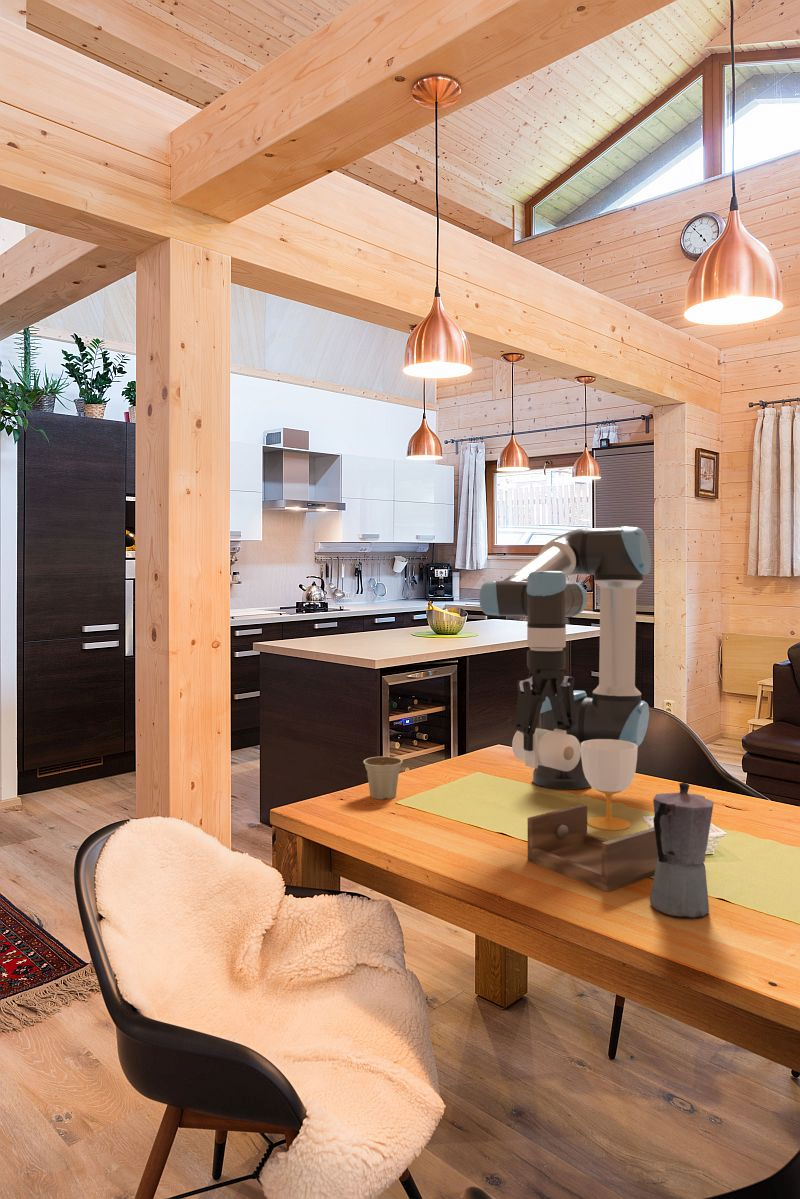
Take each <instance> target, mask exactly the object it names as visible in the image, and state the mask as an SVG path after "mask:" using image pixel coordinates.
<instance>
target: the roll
mask: <svg viewBox="0 0 800 1199" xmlns="http://www.w3.org/2000/svg"><path fill="white" fill-rule="evenodd" d="M529 728H530V726H529ZM534 734H537V735H538V765H541V766H545V767H550V768H554V769H558V770H562V771H571V770H572V769H574V768H575V767H576V765H577V764H578V762H579V759H580V756H581V747H580V743H579V741H578V739H577V738H576V737H575V736H573V735H568V734H564V733H559V732H555V731H550V730H545V729H540V727H536V730H535V733H534ZM512 738H513V739H512V743H511V747H512V752H513V754H514V756H515V758H516V759H518V760H519V761H524V762H525V750H524V748H523V745H524V744H523V743H524V736H523V733H521V732H520V731H516V732H515V734H514V736H513V737H512Z"/></svg>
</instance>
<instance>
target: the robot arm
mask: <svg viewBox="0 0 800 1199" xmlns="http://www.w3.org/2000/svg"><path fill="white" fill-rule="evenodd" d="M651 552H652V551H651V547H650V543H649V540H648V536H647V534H646V532H644V530H643V529H642V528H640V527H638V526H635V527H634V526H614V527H613V526H610V527H594V528H593V527H592V528H589V527H588V528H587V527H586V528H578V529H574V530H572V531H569V532H566V533H563V534H561V535H559V536H556V537H554V539H551V540H549V542H547V543H546V544H544V545H543V546H542V547H541V549H540V551H539V554H537V555H536V556H534V557H533V558H532V559H530V560H529V561H528V562H527V563H525V564H524V565H522V566H521V567H519V568H518V569H517V570H516V571H514V572H513V573H512V574H510V575H509V576H507V577H506V578H505V579H502V580H491V581H485V582H484V583H483V584H482V585H481V586H480V589H479V594H478V595H479V597H478V600H479V606H480V609H481V611H482V613H483V614H485V615H487V616H497V617H527V619H526V621H527V624H526V626H527V628H526V630H527V632H526V634H527V636H526V638H527V640H526V644H527V646H526V647H528V648H529V649H528V650H527V652H526V666H527V668H528V670H529V674H528V676H527V678H526V679H524V680H520V679H518V680H517V682H516V688H517V699H516V700H517V701H516V702H517V704H516V712H515V723H514V729H515V731H516V732H517V731H520V732H521V733H523V736H524V743H523V744H524V745H523V748H524V750H525V761H524V762H525V764H524V765H525V767H527V768H532V769H533V771H532V782H533V783H534V784H536V785H537V786H540V787H543V788H548V789H554V790H580V789H582V790H583V789H586V788H589V787H591V786H590V784H589V783H588V781H587V779H586V778H585V775H584V771H583V767H582V759H581V756H580V759H579V762H578V764H577V765H576V767H575V768H574V769H572V770H571V771H562V770H558V769H554V768H550V767H545V766H541V765H538V735H537V734H534V733H535V730H536V728H537V725H538V722H539V729H545V730H550V731H555V732H559V733H564V734H568V735H573V736H575V737H576V738H577V739H578V741H579V743H580V747H581V743H582V742H583V741H587V740H594V739H613V740H622V741H628V742H631V743H635V744H636V745H637V746H638V747H639V746H640V745H641V744H642V742H643V741H644V738H645V736H646V734H647V729H648V726H649V719H650V707H649V704H648V702H646V701H645V700H642V692H641V691H640V690H639V689H638V688H637V687H636V642H637V641H636V639H637V638H636V636H637V635H636V634H637V632H636V631H637V630H636V628H637V625H636V624H637V623H636V622H637V617H636V616H637V589H638V588H639V586H641V585H642V583H643V582H644V576H646V575H648V574H649V573H650V572H651V567H652V555H651ZM571 575H593V578H594V583H595V584H596V585H597V586H598V587H599V590H600V598H599V601H600V602H599V609H600V610H599V663H598V664H599V665H598V667H599V668H598V669H599V670H598V672H599V673H598V674H599V675H598V676H599V677H598V685H597V686H596V688H595V689H593V691H592V697H588V696H587V695H588V694H587V693H586V691H585V690H574V686H575V678H574V677H573V676H567V675H566V676H565V675H564V674H565V673H564V672H563V670H564V669H565V668H566V666H567V665H566V661H567V660H566V659H567V658H566V656H567V654H566V651H565V649H564V648H566V647H567V645H566V644H567V639H566V637H567V634H566V633H567V630H566V622H567V621H566V619H567V618H573V617H576V616H578V615H579V614H581V613H582V612H584V610H585V608H586V607H587V605H588V593H587V590H586V589H585V587H584V586H583V585H582V584H580V583H578V582H576V581H573V580H571V579H570V580H567V579H566V578H567V577H569V576H571ZM529 727H530V728H529Z"/></svg>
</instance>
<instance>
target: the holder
mask: <svg viewBox="0 0 800 1199" xmlns="http://www.w3.org/2000/svg"><path fill="white" fill-rule="evenodd" d="M587 821H588V805H586V804H583V803H582V804H579V805H574V806H571V807H566V808H562V809H558V810H554V811H551V812H550V811H549V812H546V813H542V814H537V815H534V816H530V817H527V861H528V862H531V863H533V864H536V865H538V866H541V867H543V868H545V869H548V870H551V871H553V872H556V873H558V874H561V875H564V876H565V877H568V878H570V879H573V880H576V881H578V882H581V883H583V884H587V885H589V886H590V887H594V888H596V889H599V890H602V891H604V892H611V891H614V890H616V889H619V888H622V887H626V886H628V885H631V884H634V883H636V882H639V881H643V880H645V879H648V878H651V877H654V875H655V870H656V864H657V859H658V849H657V844H656V835H655V829H654V826H653V827H651V828H647V829H644V830H640V831H636V832H633V833H630V834H626V835H622V836H620V837H617V838H614V839H610V840H608V839H605V838H602V837H599V836H597V835H596V836H595V835H593V834H590V833H588V823H587Z"/></svg>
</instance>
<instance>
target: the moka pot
mask: <svg viewBox="0 0 800 1199" xmlns="http://www.w3.org/2000/svg"><path fill="white" fill-rule="evenodd" d="M678 784H679V792H669V793H668V792H666V793H658V794H657V793H656V794H655V795H654V798H653V811H654V815H653V820H652V821H653V827H654V829H655V835H656V844H657V849H658V859H657V864H656V870H655V875H654V876H653V881H652V886H651V892H650V896H649V902H650V905H651V906H652V907H653V908H654V909H655V910H657V911H659V912H661V913H664V914H666V915H669V916H675V917H680V918H701V917H704V916H706V915H707V914H709V912H710V904H709V894H708V884H707V883H708V882H707V871H706V865H705V861H706V852H707V847H708V844H709V843H708V842H709V836H710V829H711V822H712V816H713V808H714V801H713V800H710V799H709V798H708V799H707V798H705V797H706V796H704V795H700V794H695V793H693V794H692V793H689V790H690V784H689V783H687V782H680V783H678Z"/></svg>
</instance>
